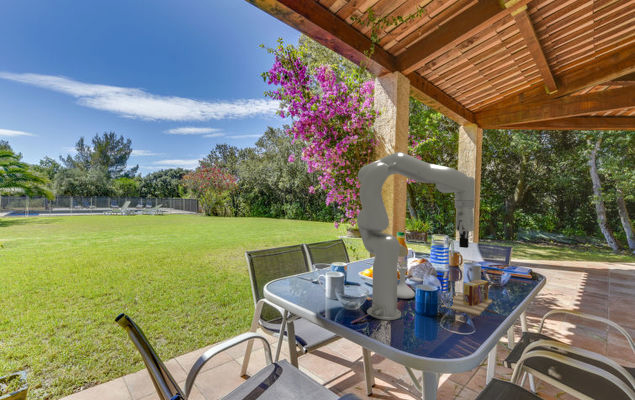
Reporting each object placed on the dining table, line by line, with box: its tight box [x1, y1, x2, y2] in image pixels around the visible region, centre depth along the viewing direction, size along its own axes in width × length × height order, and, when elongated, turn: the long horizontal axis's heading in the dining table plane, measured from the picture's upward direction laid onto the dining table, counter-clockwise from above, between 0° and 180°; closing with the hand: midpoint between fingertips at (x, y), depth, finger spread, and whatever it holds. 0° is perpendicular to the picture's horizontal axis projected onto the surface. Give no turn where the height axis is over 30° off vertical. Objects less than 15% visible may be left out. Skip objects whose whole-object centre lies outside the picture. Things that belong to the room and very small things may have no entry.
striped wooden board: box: [440, 292, 494, 317], centre depth 122 cm, size 26×14×1 cm, turn 137°
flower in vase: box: [397, 243, 416, 300], centre depth 132 cm, size 13×11×25 cm
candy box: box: [462, 279, 489, 306], centre depth 124 cm, size 9×4×15 cm
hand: (463, 247), depth 119 cm, fingers closed
